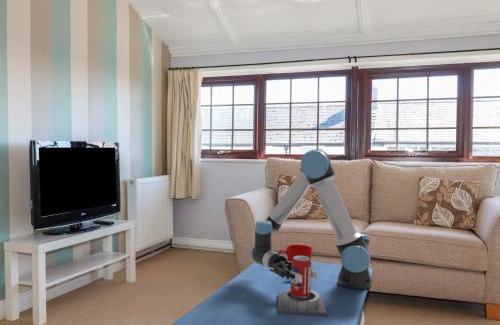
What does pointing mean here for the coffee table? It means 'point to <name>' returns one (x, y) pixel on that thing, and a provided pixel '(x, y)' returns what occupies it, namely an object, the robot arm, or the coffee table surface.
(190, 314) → the coffee table surface
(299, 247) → the ceramic cup
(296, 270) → the soda can
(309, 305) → the housing
